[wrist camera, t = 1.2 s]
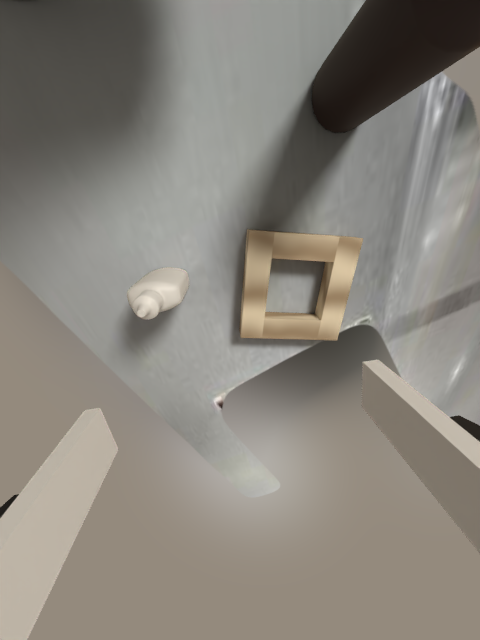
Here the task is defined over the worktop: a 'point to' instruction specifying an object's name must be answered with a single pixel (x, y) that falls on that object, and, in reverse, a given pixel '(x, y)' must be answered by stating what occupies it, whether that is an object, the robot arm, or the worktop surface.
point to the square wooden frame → (333, 289)
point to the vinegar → (391, 56)
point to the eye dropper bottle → (158, 292)
